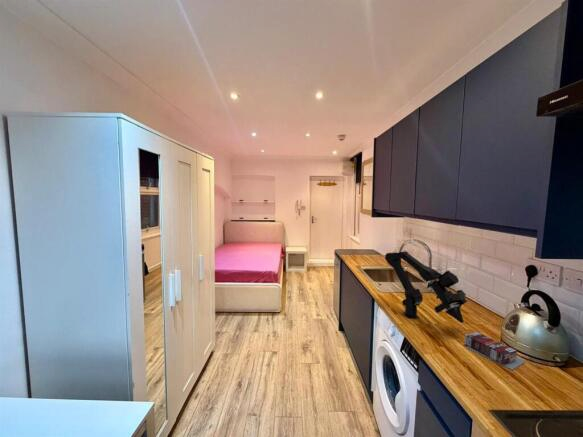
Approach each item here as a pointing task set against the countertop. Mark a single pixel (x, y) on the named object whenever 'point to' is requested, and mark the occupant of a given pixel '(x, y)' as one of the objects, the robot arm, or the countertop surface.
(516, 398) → the countertop surface
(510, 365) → the mat
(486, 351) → the supplement box
